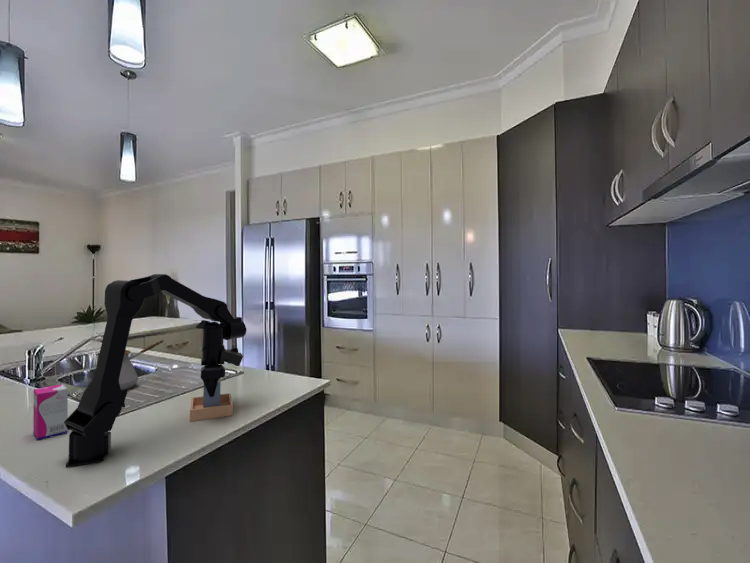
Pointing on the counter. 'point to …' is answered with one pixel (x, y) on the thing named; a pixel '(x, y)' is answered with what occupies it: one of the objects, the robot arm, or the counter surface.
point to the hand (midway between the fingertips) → (211, 394)
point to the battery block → (214, 400)
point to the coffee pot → (131, 368)
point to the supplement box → (50, 411)
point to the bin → (211, 408)
